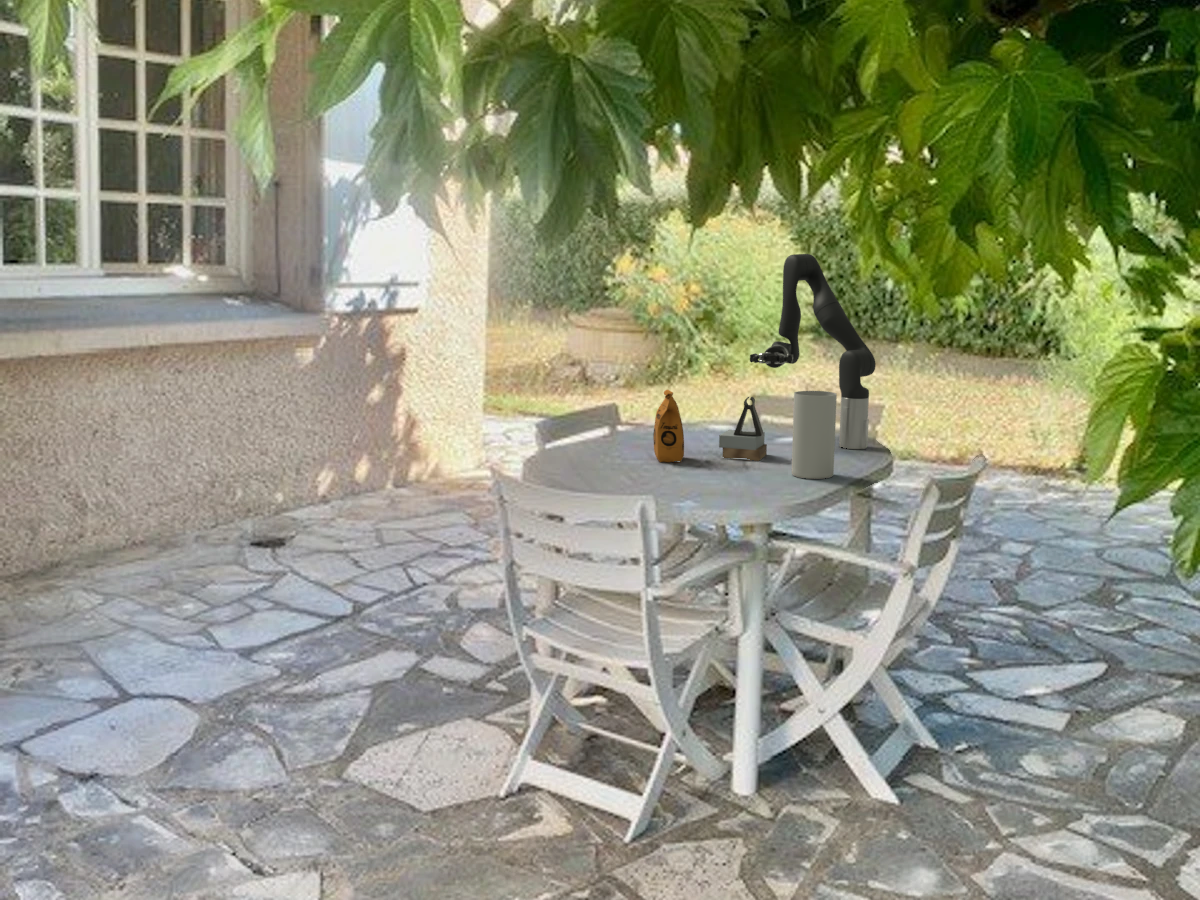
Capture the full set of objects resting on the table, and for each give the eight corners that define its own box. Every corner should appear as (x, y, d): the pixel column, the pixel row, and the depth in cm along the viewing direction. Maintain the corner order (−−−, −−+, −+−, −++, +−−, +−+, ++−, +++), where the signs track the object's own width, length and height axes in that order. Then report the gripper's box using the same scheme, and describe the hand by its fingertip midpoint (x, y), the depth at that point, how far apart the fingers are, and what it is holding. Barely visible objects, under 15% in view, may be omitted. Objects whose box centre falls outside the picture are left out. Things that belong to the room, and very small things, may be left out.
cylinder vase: (829, 481, 370) (832, 397, 366) (787, 477, 375) (790, 394, 370) (836, 473, 382) (840, 391, 377) (796, 470, 386) (798, 389, 382)
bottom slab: (766, 456, 413) (766, 444, 413) (759, 462, 402) (759, 450, 401) (730, 453, 417) (731, 442, 416) (722, 460, 406) (722, 447, 405)
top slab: (764, 444, 413) (764, 432, 412) (755, 450, 402) (755, 437, 401) (728, 441, 417) (729, 429, 416) (719, 447, 406) (719, 435, 405)
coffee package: (652, 462, 398) (653, 393, 394) (653, 455, 410) (654, 388, 406) (684, 463, 397) (685, 394, 393) (683, 456, 409) (685, 389, 405)
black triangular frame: (733, 435, 405) (734, 398, 403) (735, 432, 411) (736, 396, 409) (761, 436, 403) (762, 399, 401) (763, 433, 409) (764, 397, 407)
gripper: (756, 345, 438) (747, 348, 423) (797, 345, 434) (789, 349, 418) (756, 366, 439) (746, 370, 424) (796, 367, 435) (788, 371, 419)
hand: (767, 360), depth 421 cm, fingers open, 8 cm apart
